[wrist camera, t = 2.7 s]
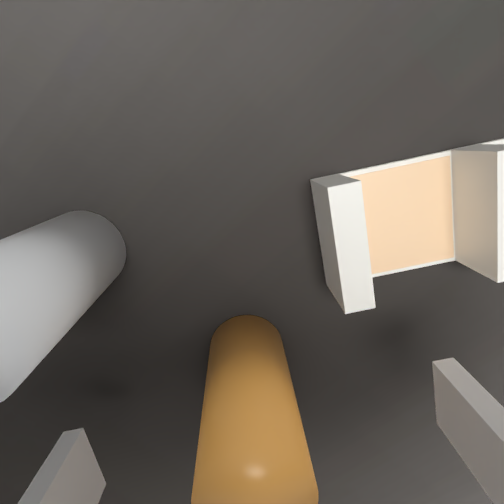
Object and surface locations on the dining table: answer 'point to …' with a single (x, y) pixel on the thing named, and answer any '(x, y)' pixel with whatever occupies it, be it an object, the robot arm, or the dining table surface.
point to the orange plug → (251, 422)
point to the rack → (411, 218)
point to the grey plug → (51, 286)
